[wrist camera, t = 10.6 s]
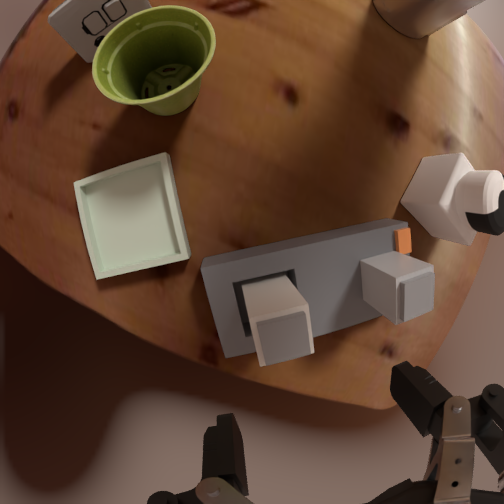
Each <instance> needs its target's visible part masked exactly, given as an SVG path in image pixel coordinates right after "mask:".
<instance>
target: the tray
mask: <svg viewBox="0 0 504 504" xmlns="http://www.w3.org/2000/svg"><path fill="white" fill-rule="evenodd" d="M74 187H75V193H76V199H77V204H78V209H79V214H80V219H81V223H82V228H83V232H84V236H85V240H86V244H87V248H88V252H89V256H90V259H91V263H92V266H93V270H94V273H95V276H96V279H97V280H98V279H102V278H106V277H111V276H115V275H119V274H124V273H128V272H133V271H137V270H141V269H146V268H150V267H155V266H159V265H164V264H168V263H173V262H177V261H182V260H186V259H189V258H190V256H191V251H190V247H189V243H188V239H187V234H186V230H185V226H184V222H183V217H182V213H181V208H180V203H179V199H178V194H177V189H176V184H175V179H174V174H173V169H172V164H171V159H170V155H169V154H167V153H166V152H164V153H161V154H157V155H154V156H150V157H147V158H143V159H140V160H137V161H133V162H130V163H127V164H124V165H121V166H118V167H115V168H112V169H109V170H106V171H103V172H101V173H98V174H95V175H92V176H90V177H87V178H84V179H82V180H79V181H77V182H74Z"/></svg>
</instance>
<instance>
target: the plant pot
mask: <svg viewBox="0 0 504 504" xmlns="http://www.w3.org/2000/svg"><path fill="white" fill-rule="evenodd" d="M215 45H216V39H215V33H214V30H213V27H212V25H211V24H210V22H209V21H208V20H207V19H206V18H205V17H204V16H203V15H201V14H200V13H198V12H197V11H195V10H192V9H189V8H186V7H182V6H159V7H154V8H149V9H146V10H143V11H140V12H138V13H135V14H133V15H131V16H130V17H128V18H126V19H125V20H123V21H122V22H120V23H119V24H118V25H116V26H115V27H114V28H113V29H112V30H111V31H110V32H109V33H108V34H107V35H106V36H105V38H104V39H103V40H102V42H101V43H100V45H99V47H98V49H97V51H96V53H95V56H94V59H93V65H92V74H93V79H94V82H95V84H96V86H97V88H98V89H99V90H100V91H101V93H103V94H104V95H105V96H106V97H108V98H109V99H111V100H113V101H115V102H118V103H121V104H127V105H139V106H141V107H143V108H144V109H146V110H148V111H150V112H152V113H154V114H156V115H162V116H168V115H174V114H177V113H180V112H182V111H184V110H185V109H187V108H188V107H189V106H190V105H191V104H192V103H193V101H194V100H195V99H196V98H197V96H198V94H199V90H200V84H201V78H202V74H203V72H204V71H205V70H206V68H207V67H208V65H209V64H210V62H211V60H212V57H213V54H214V51H215ZM167 68H175V69H176V70H173V71H166V72H162V71H163V70H164V69H167ZM169 85H170V86H171V89H170V90H168V89H167V86H169ZM147 88H149V91H148V96H149V99H146V96H145V90H146V89H147Z"/></svg>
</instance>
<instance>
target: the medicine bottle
mask: <svg viewBox="0 0 504 504" xmlns="http://www.w3.org/2000/svg"><path fill="white" fill-rule="evenodd" d="M400 202H401V204H402V205H403V206H404V207H405V208H406V209H407V210H408V211H409V212H410V213H411V214H412V215H413V216H414V218H415V219H416V220H417V221H418V222H419V223H420V224H421V225H422V226H423V227H424V228H425V229H426V230H427V232H428V233H429V234H430V235H431V236H432V237H436V238H440V239H444V240H448V241H452V242H456V243H459V244H463V245H467V246H470V245H471V244H472V242H473V240H474V237H475V235H476V233H477V231H478V232H483V233H487V234H492V235H500V234H501V233H503V232H504V175H503V174H502V173H501V172H499V171H497V170H474V168H473V167H472V165H471V164H470V162H469V161H468V160H467V158H466V157H465V155H464V154H463V153H454V154H445V155H437V156H429V157H423V158H422V160H421V162H420V164H419V166H418V168H417V170H416V172H415V174H414V176H413V178H412V180H411V182H410V184H409V186H408V188H407V189H406V191H405V193H404V195H403V197H402V199H401V201H400Z"/></svg>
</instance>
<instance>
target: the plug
mask: <svg viewBox="0 0 504 504" xmlns="http://www.w3.org/2000/svg"><path fill="white" fill-rule="evenodd" d="M241 285H242V290H243V294H244V299H245V304H246V308H247V313H248V317H249V322H250V326H251V330H252V335H253V339H254V343H255V347H256V351H257V356H258V360H259V364H260V367H261V366H265V365H266V366H267V365H271V364H275V363H280V362H284V361H287V360H291V359H295V358H299V357H303V356H306V355H310V354H312V353H314V345H313V336H312V328H311V320H310V313H309V305H308V303H307V302H306V300H305V299H304V298H303V296H302V295H301V294H300V293H299V291H298V290H297V289H296V288H295V286H294V285H293V284H292V282H291V281H290V280H289V279H288V277H287V276H286V275H285V274H284V272H283V271H282V272H278V273H273V274H269V275H265V276H260V277H256V278H251V279H247V280H242V281H241Z"/></svg>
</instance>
